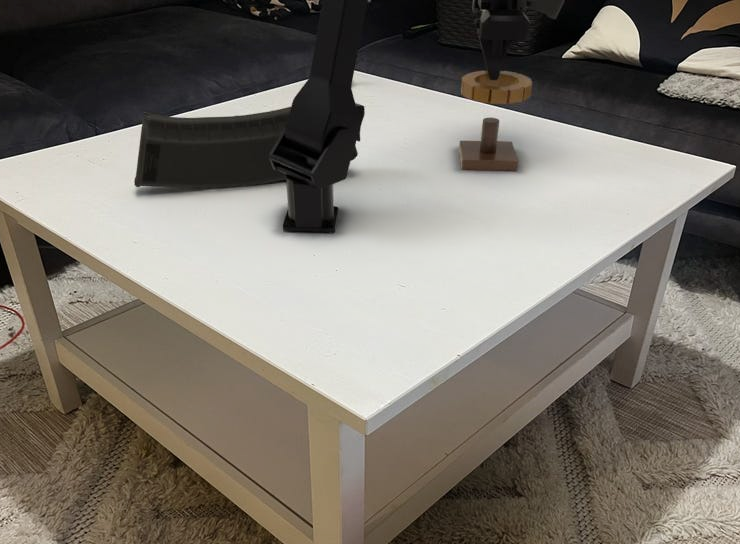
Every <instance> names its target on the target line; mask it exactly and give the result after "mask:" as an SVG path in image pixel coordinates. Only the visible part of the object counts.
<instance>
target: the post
mask: <svg viewBox="0 0 740 544" xmlns="http://www.w3.org/2000/svg"><path fill="white" fill-rule="evenodd" d="M499 129H500V119H498V118H496V117H484V118H483V119H482V123H481V132H480V140H462V139H461V140H459V142H458V155H459V160H460V168H461V170H463V171H464V170H465V171H469V170H470V171H506V172H507V171H509V172H510V171H511V172H515V171H516V172H517V170H518V165H519V159H518V157H517V153H516V150H515V147H514V144H513V141H510V140H509V141H506V140H505V141H503V140H498V137H499Z"/></svg>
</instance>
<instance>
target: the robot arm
mask: <svg viewBox="0 0 740 544" xmlns="http://www.w3.org/2000/svg"><path fill="white" fill-rule="evenodd" d="M368 2H369V0H322V2H321V7H320V12H319V13H320V14H319V18H318V19H319V20H318V25H317V32H316V37H315V43H314V49H313V54H312V61H311V67H310V73H309V76H308V79H307V81H305V83H304V84H303V85H302V87H301V88H300V89H299V91H298V92H297V93H296V95H295V96H294V97H293V100H292V102H291V105H290V107H291V109H290V112H289V116H288V119H287V122H286V127H285V128H284V130H283V132H282V133H281V135H280V137H279V138H278V140H277V142H276V143H275V145H274V147H273V148H272V150H271V152H270V153H269V156H268V157H269V160H270V162H271V165H272V167H273V169H275V170H278V171H281V172H283V173H285V174H286V180H285V184H286V198H287V210H286V213H285V217H284V220H283V224H282V230H283V231H285V232H313V233H314V232H318V233H334V232H335V231H336V228H337V223H338V217H339V211H340V208H339V206H335V205H334V184H337V183H339V182H342V181H345V180H347V178H348V173H349V170H350V164H351V162H352V161H351V157H352V153H353V151H354V148H355V146H357V145H356V144H357V142H359V143H360V142H361V129H362V128H361V127H362V124H363V120H364V118H365V115H366V113H365V112H366V111H365V110H366V109H365V106H364V105H362V104H360V103H357V102H356V101H355V97H354V93H353V90H352V88H353V87H352V85H353V80H354V75H355V68H356V64H357V58H358V54H359V48H360V43H361V38H362V32H363V29H364V28H363V27H364V23H365V17H366V13H367V7H368ZM564 3H565V0H472V4H471V11H472V13H473V14H478V10H480V12H481V13H480V18H475V19H474V25H475V29H476V31H477V35H478V39H479V43H480V47H481V51H482V55H483V59H484V62H485V63H484V64H485V66H486V70H488V74H489V78H490V80H497V79H498V77H499V74H500V71H502V68H503V66H504V63H505V60H506V56H507V54H508V51H509V49H510V46H511V44H512V43H514V42H515V41H526V40H530V34H531V27H532V26H531V25H532V22H530V20H529V18H528V17H527V15H526V14H525V12H526V11H527V7H528V8H531V9H533V10H535V11H538V12H540V13H543V14H545V15H546V17H548V18H550V19H553V20H557V17H558V15H559V13H560V11H561V9H562V7H563V5H564ZM306 156H308V157H311V158H313V159H315V160H318V161H317V162H316V161H314V160H312V159H309V158H307V157H306Z"/></svg>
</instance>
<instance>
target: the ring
mask: <svg viewBox="0 0 740 544" xmlns="http://www.w3.org/2000/svg"><path fill="white" fill-rule="evenodd" d="M532 90H533V81H532V79H531V78H530V77H529V76H527V75H524V74H522V73H518V72H514V71H508V70H503V71H502V70H501V71H500V74H499V77H498V79H497V80H490V78H489V74H488V70H487V69H485V70H479V71H478V70H477V71H472V72H468V73H466V74H464V75H463V76H462V77H461V85H460V92H461V95H462V96H463V97H464V98H467V99H468V100H470V101H474V102H477V103H483V104H489V103H490V104H491V105H492V104H493V105H496V104H497V105H507V104H509V105H510V104H515V103H521V102H524V101H526V100H528V99H529V98H531V96H532Z"/></svg>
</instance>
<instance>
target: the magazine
mask: <svg viewBox="0 0 740 544" xmlns="http://www.w3.org/2000/svg"><path fill="white" fill-rule="evenodd" d="M290 109H291V106H287V107H283V108H279V109H273V110H269V111H264V112H263V111H262V112H257V113H248V114H242V115H231V116H230V115H229V116H202V117H201V116H199V117H179V116H178V117H176V116H166V115H159V114H153V113H149V112H148V111H142V122H141V123H142V124H141V130H140V137H139V146H138V155H137V163H136V169H135V171H136V173H135V177H134V186H135V188H140V187H155V188H180V189H181V188H183V189H217V188H219V189H220V188H236V187H248V186H257V185H265V184H270V183H271V184H272V183H275V182H281V181H286V174H285V173H283V172H281V171H278V170H275V169H273V167H272V165H271V162H270V160H269V157H268V156H269V153H270V152H271V150H272V148H273V147H274V145H275V143H276V142H277V140H278V138H279V137H280V135H281V133H282V132H283V130H284V128H285V127H286V122H287V119H288V116H289V112H290ZM358 154H359V152H358V149H357V145H355V148H354V151H353V153H352V157H351V161H350V162H352V161H354V160H356V158H357V157H358ZM306 157H307V158H309V159H312V160H314V161H316V162H317V161H318V160H315V159H313V158H311V157H308V156H306Z"/></svg>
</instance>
